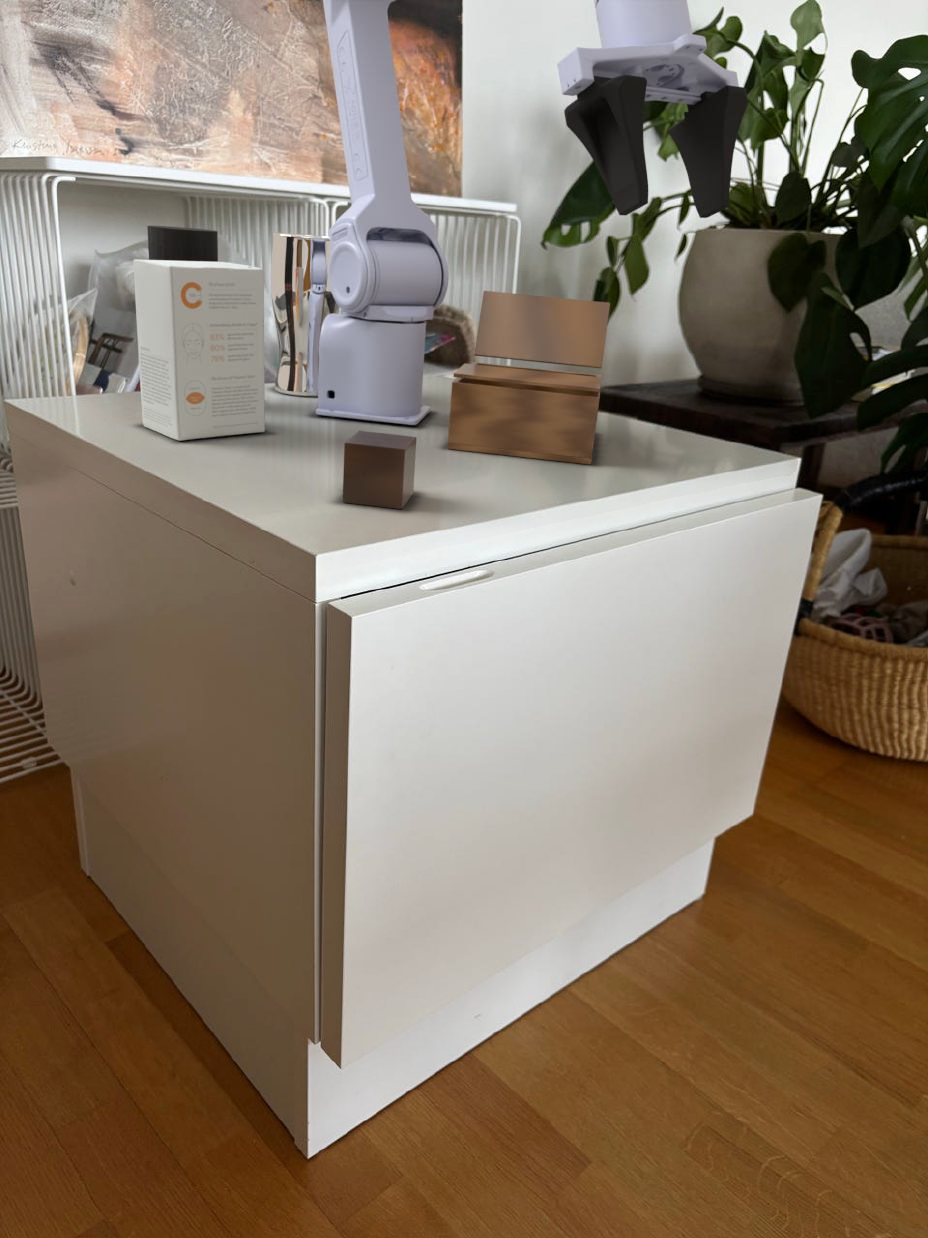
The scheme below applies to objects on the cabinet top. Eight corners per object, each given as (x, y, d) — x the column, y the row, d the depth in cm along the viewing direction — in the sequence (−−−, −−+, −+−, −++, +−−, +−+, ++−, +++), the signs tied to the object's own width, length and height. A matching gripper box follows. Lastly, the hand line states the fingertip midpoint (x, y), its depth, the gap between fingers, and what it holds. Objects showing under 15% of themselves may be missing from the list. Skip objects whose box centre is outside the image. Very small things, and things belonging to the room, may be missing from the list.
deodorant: (200, 392, 95) (196, 227, 89) (232, 404, 91) (230, 232, 85) (143, 396, 91) (135, 224, 85) (173, 408, 87) (167, 228, 81)
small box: (226, 418, 85) (224, 260, 80) (266, 433, 81) (266, 267, 76) (139, 425, 79) (131, 257, 74) (177, 442, 75) (171, 264, 70)
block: (342, 502, 64) (344, 442, 62) (357, 487, 67) (359, 430, 66) (401, 509, 63) (405, 449, 62) (413, 494, 67) (416, 436, 65)
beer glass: (325, 400, 96) (329, 238, 90) (259, 392, 97) (259, 232, 92) (347, 389, 103) (352, 238, 97) (285, 382, 104) (286, 232, 98)
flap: (483, 290, 91) (483, 291, 91) (474, 354, 90) (474, 355, 90) (610, 302, 90) (610, 303, 90) (601, 367, 89) (601, 368, 89)
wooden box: (447, 448, 81) (452, 373, 78) (468, 420, 93) (473, 354, 90) (590, 464, 80) (600, 388, 77) (593, 433, 91) (602, 367, 89)
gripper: (597, -61, 55) (638, 181, 56) (762, -22, 63) (795, 190, 64) (523, 8, 61) (562, 226, 62) (682, 36, 69) (714, 229, 70)
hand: (675, 210), depth 64 cm, fingers open, 7 cm apart
